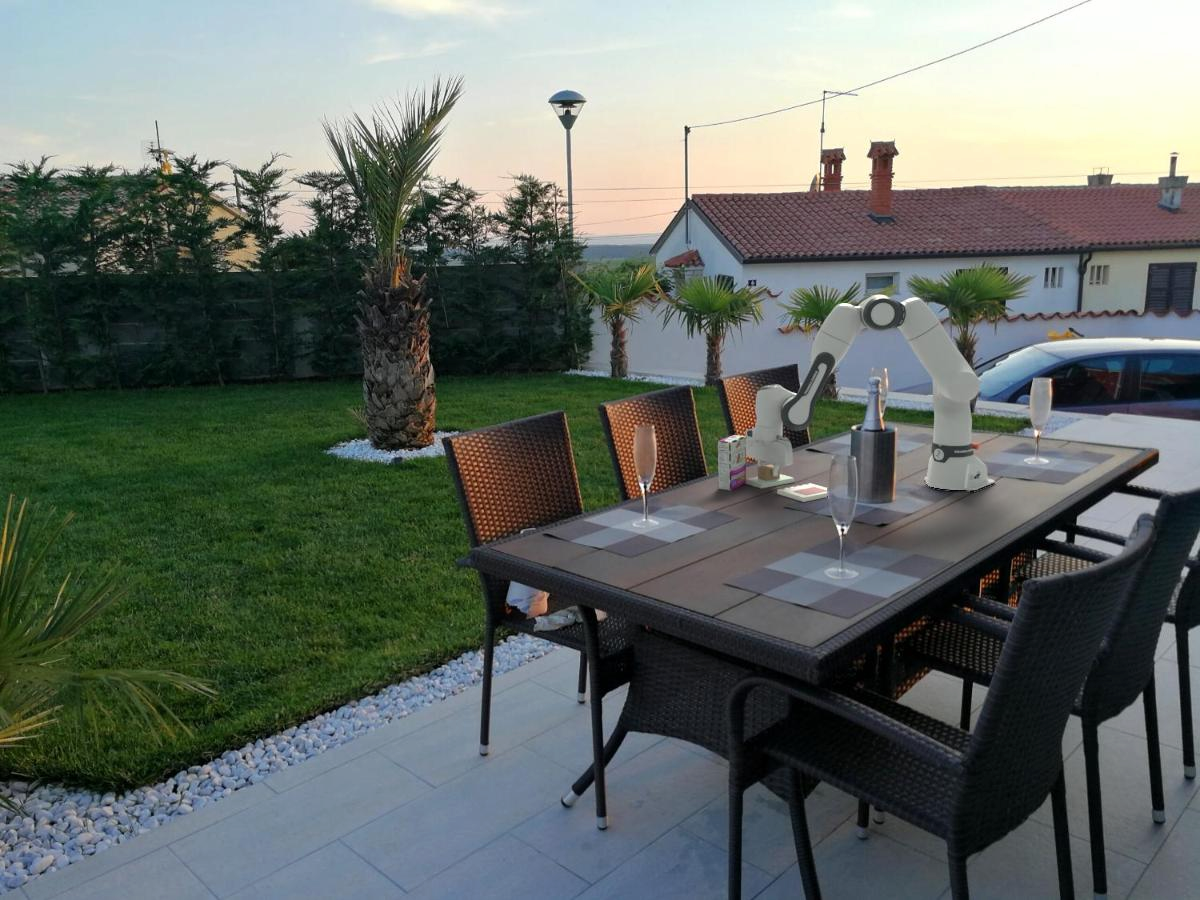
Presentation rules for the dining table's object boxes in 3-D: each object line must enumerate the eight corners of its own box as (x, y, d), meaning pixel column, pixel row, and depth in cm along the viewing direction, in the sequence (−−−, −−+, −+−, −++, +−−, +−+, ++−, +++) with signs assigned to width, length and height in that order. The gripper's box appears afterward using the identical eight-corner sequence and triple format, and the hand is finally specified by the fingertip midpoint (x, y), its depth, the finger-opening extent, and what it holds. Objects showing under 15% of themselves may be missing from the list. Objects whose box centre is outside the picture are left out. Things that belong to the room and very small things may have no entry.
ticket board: (810, 487, 273) (810, 482, 273) (837, 495, 263) (837, 490, 263) (777, 494, 267) (777, 489, 266) (803, 502, 256) (803, 497, 256)
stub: (777, 477, 287) (778, 462, 286) (793, 482, 280) (794, 466, 279) (745, 483, 280) (745, 467, 279) (761, 488, 273) (761, 472, 272)
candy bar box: (732, 482, 284) (733, 434, 280) (746, 483, 281) (746, 435, 277) (717, 489, 275) (716, 440, 271) (730, 491, 272) (730, 441, 268)
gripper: (797, 437, 270) (797, 478, 273) (756, 428, 287) (756, 467, 290) (782, 439, 267) (782, 481, 270) (742, 430, 284) (742, 470, 287)
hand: (768, 474), depth 280 cm, fingers open, 4 cm apart
